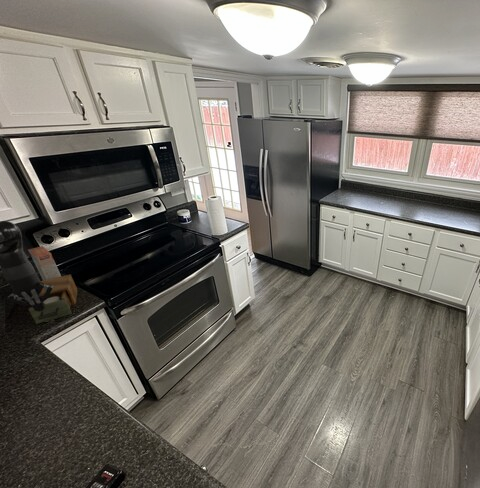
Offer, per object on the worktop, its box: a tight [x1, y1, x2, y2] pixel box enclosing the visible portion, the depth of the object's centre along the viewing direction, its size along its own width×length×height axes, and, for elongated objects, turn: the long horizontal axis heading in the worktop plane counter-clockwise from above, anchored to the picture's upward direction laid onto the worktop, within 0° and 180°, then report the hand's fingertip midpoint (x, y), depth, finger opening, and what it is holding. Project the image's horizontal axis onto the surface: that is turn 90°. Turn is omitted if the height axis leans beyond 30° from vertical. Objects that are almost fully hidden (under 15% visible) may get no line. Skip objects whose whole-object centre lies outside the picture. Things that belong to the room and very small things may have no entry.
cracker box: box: [27, 245, 62, 281], centre depth 136 cm, size 14×6×21 cm, turn 56°
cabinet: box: [40, 273, 78, 306], centre depth 127 cm, size 15×13×10 cm
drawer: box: [28, 290, 73, 325], centre depth 119 cm, size 18×11×8 cm, turn 37°
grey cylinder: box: [43, 296, 60, 304], centre depth 120 cm, size 5×5×6 cm
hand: (41, 310), depth 106 cm, fingers closed
